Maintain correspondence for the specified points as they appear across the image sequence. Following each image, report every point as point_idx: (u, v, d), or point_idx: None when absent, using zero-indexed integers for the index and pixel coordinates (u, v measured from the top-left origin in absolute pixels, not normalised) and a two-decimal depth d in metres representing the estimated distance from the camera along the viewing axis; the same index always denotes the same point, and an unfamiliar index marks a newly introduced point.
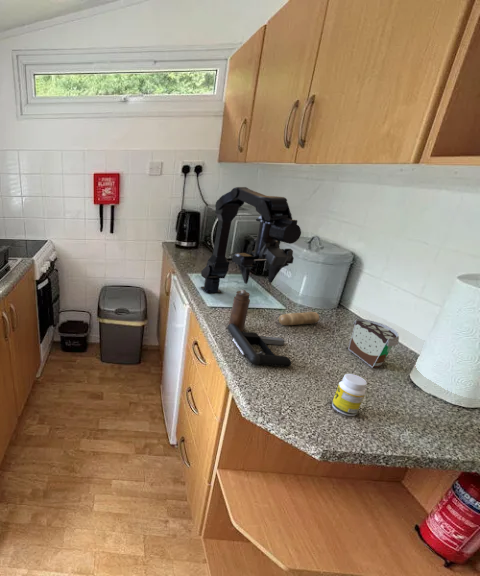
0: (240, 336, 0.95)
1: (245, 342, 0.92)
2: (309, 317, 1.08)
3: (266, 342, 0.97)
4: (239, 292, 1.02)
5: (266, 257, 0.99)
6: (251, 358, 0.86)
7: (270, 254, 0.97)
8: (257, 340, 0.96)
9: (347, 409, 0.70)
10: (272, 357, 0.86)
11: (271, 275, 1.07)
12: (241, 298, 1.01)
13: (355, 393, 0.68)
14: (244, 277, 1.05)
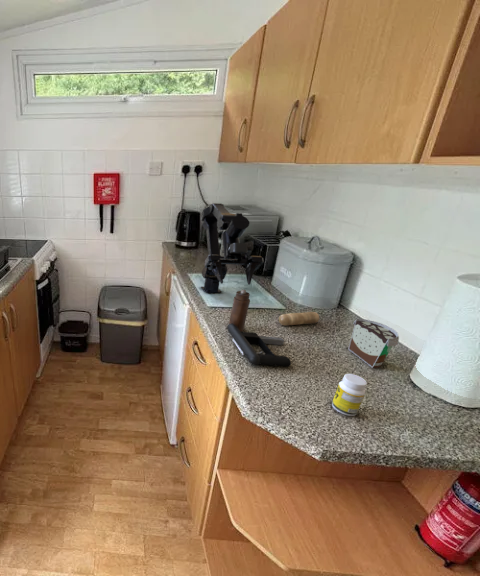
0: (240, 336, 0.95)
1: (245, 342, 0.92)
2: (309, 317, 1.08)
3: (266, 342, 0.97)
4: (239, 292, 1.02)
5: (230, 251, 1.08)
6: (251, 358, 0.86)
7: (231, 245, 1.08)
8: (257, 340, 0.96)
9: (347, 409, 0.70)
10: (272, 357, 0.86)
11: (248, 277, 1.09)
12: (241, 298, 1.01)
13: (355, 393, 0.68)
14: (219, 277, 1.10)
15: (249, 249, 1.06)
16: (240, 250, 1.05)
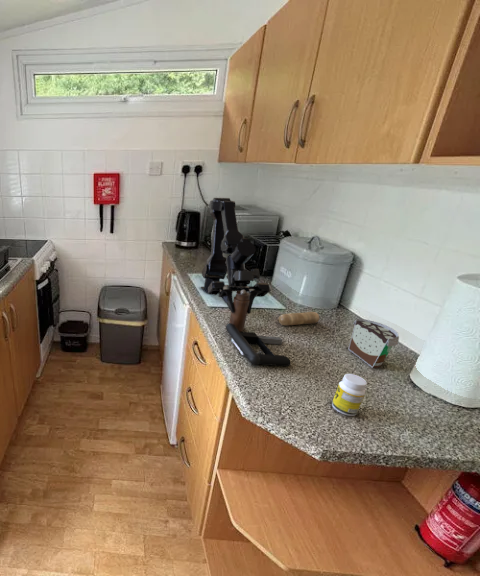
0: (239, 336, 0.95)
1: (244, 342, 0.92)
2: (309, 317, 1.08)
3: (264, 342, 0.97)
4: (239, 292, 1.02)
5: (235, 278, 1.02)
6: (251, 358, 0.86)
7: (236, 273, 1.02)
8: (256, 340, 0.96)
9: (347, 409, 0.70)
10: (272, 357, 0.86)
11: None
12: (241, 298, 1.01)
13: (355, 393, 0.68)
14: (229, 306, 1.04)
15: (255, 277, 1.00)
16: (246, 278, 0.99)
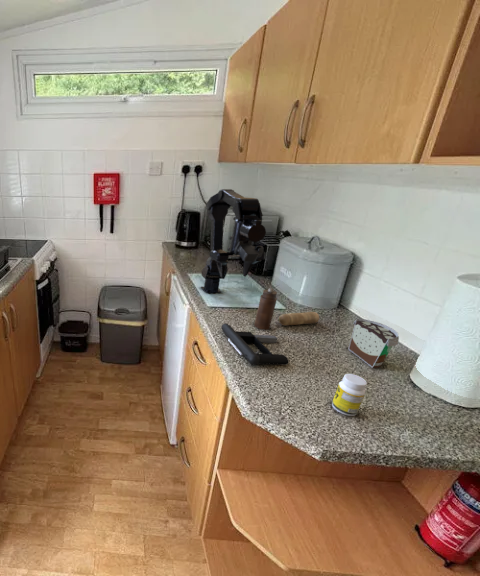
0: (236, 336, 0.95)
1: (242, 342, 0.92)
2: (309, 317, 1.08)
3: (260, 341, 0.98)
4: (266, 291, 1.03)
5: (239, 254, 1.08)
6: (251, 358, 0.86)
7: (243, 251, 1.06)
8: (252, 339, 0.97)
9: (347, 409, 0.70)
10: (271, 356, 0.87)
11: (245, 270, 1.16)
12: (270, 297, 1.02)
13: (355, 393, 0.68)
14: (220, 272, 1.14)
15: (258, 256, 1.06)
16: (250, 260, 1.06)
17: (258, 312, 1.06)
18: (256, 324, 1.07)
